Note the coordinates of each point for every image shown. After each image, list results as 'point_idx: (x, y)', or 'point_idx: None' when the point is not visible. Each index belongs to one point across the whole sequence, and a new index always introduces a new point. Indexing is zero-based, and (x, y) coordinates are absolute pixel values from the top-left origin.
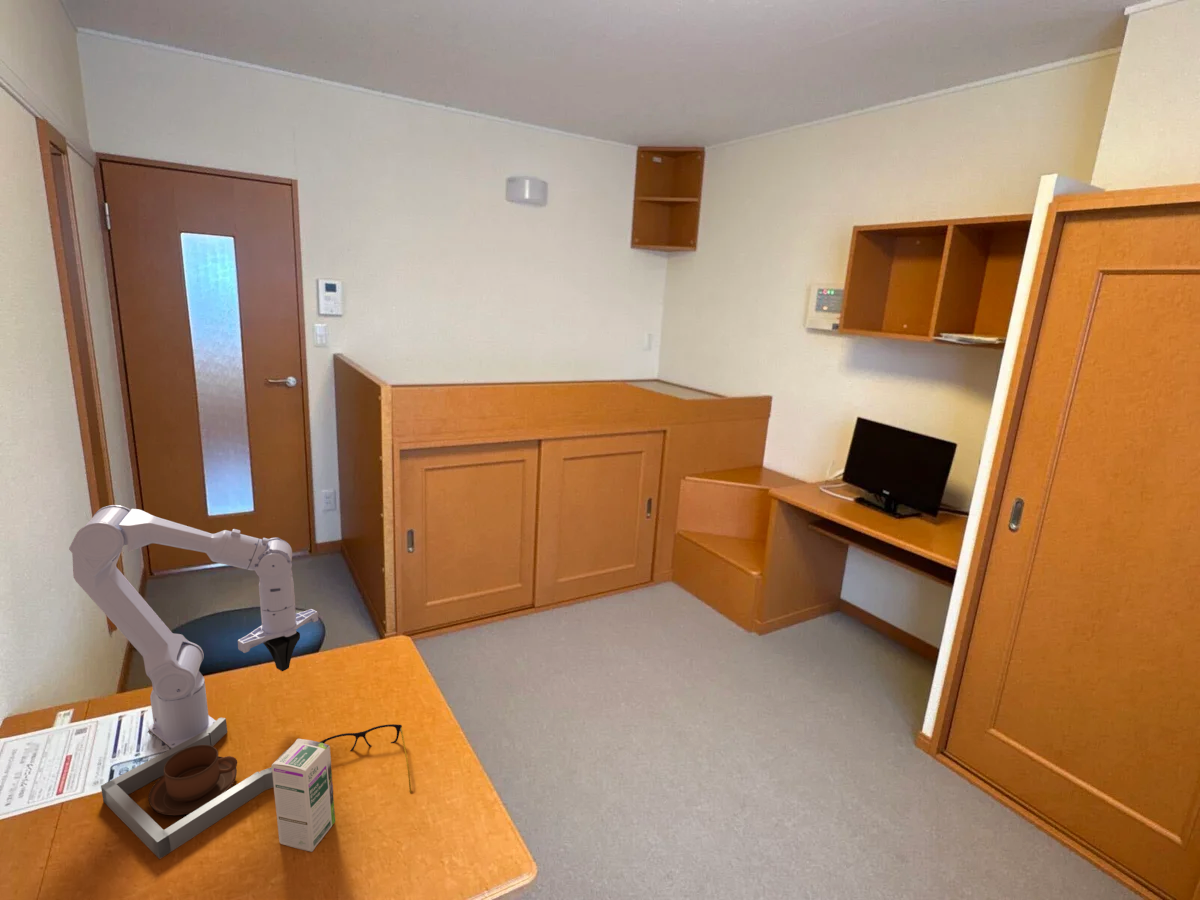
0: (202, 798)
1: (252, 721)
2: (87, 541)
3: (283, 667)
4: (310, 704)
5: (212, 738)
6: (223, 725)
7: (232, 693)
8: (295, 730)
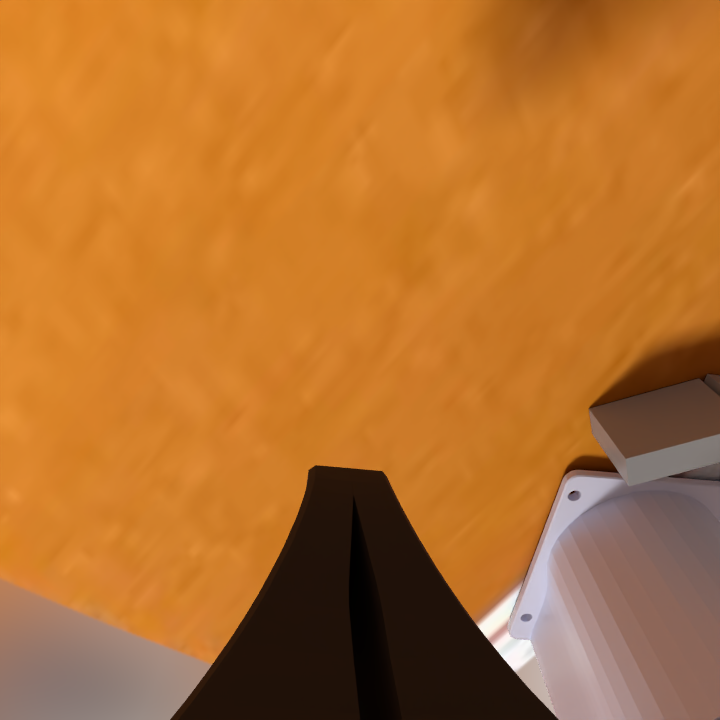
0: None
1: (480, 379)
2: None
3: (384, 494)
4: (218, 233)
5: (714, 403)
6: (634, 435)
7: None
8: (441, 104)
